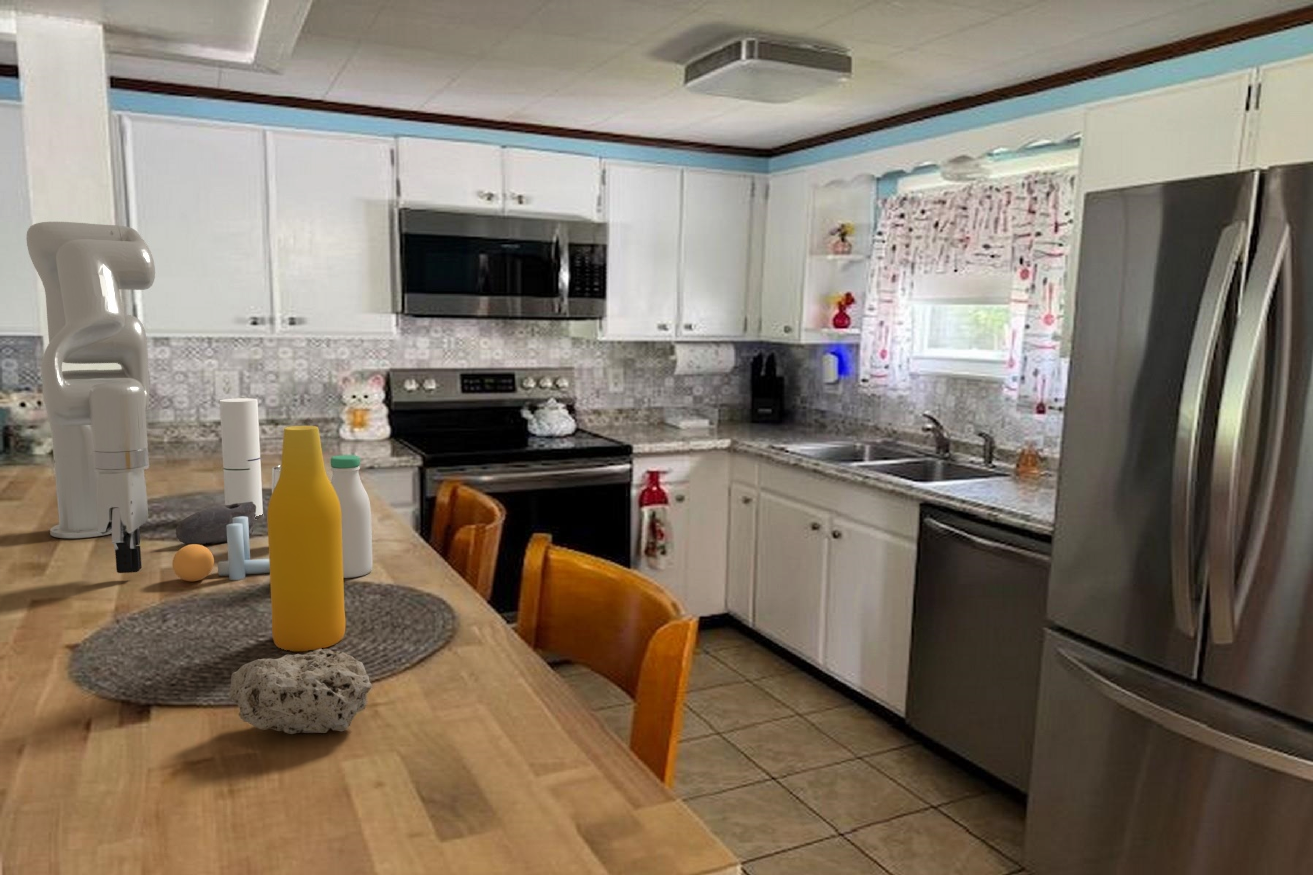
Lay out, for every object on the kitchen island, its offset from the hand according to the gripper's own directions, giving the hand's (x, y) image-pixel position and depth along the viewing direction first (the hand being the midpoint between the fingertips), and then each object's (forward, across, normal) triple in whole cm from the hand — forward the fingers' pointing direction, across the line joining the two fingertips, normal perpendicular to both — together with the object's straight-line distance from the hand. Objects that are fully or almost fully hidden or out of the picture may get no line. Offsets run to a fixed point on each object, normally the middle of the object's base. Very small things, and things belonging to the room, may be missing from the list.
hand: (129, 570), depth 144 cm
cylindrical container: (+2, -43, +10) cm, 44 cm away
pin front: (0, 0, +13) cm, 13 cm away
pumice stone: (+2, +60, +33) cm, 68 cm away
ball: (-2, +2, +10) cm, 11 cm away
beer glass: (+2, -17, +23) cm, 29 cm away
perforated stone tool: (+2, -23, +9) cm, 25 cm away
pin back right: (+2, -2, +16) cm, 17 cm away
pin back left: (+2, +2, +16) cm, 17 cm away
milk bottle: (+2, +3, +34) cm, 34 cm away
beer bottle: (+2, +34, +31) cm, 46 cm away
